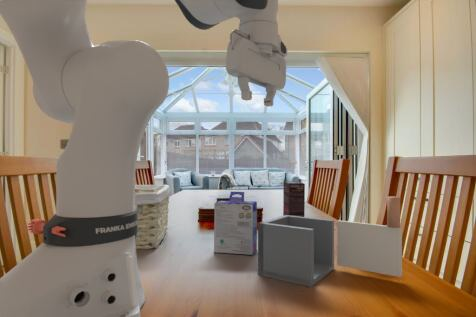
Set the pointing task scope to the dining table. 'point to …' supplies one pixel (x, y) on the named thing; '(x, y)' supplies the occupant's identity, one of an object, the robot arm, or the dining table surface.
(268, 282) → the dining table surface
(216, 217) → the ink cartridge box
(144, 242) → the storage basket
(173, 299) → the dining table surface
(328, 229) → the grey open box
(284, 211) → the supplement box
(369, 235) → the flap
